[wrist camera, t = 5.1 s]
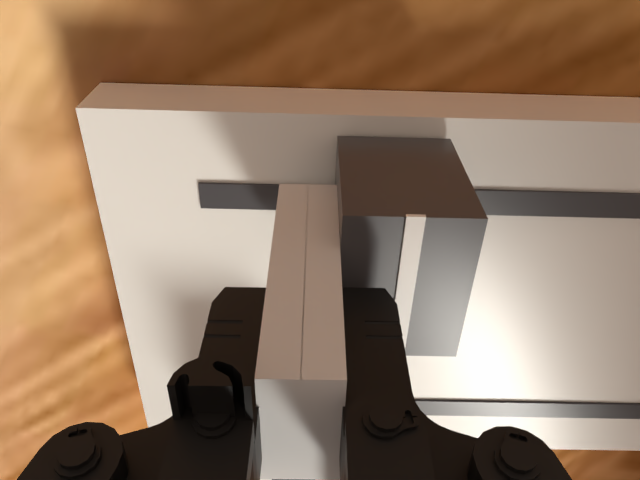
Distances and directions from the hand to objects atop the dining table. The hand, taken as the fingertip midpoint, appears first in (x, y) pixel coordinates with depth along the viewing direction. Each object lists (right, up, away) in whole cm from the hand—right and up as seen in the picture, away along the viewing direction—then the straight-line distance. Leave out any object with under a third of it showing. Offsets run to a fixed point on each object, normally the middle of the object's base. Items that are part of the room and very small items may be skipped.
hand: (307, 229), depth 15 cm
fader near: (+2, +1, +1) cm, 3 cm away
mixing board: (+7, -2, +5) cm, 9 cm away
